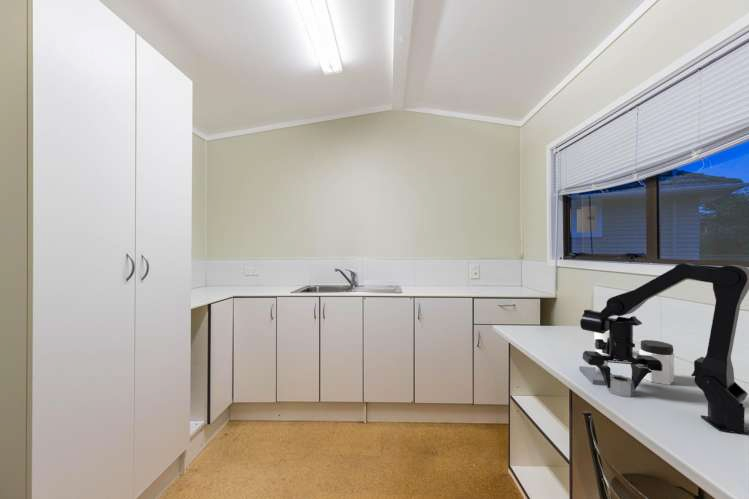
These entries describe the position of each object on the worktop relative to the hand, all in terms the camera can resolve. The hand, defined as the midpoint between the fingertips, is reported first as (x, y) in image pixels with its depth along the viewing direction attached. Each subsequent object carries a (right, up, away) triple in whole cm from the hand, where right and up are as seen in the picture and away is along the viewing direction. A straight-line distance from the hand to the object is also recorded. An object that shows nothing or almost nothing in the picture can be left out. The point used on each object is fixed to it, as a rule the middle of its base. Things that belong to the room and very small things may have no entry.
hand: (620, 388), depth 98 cm
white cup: (+21, -1, +36) cm, 42 cm away
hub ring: (0, -1, 0) cm, 1 cm away
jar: (+19, -1, +9) cm, 21 cm away
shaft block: (+1, -1, +10) cm, 10 cm away
